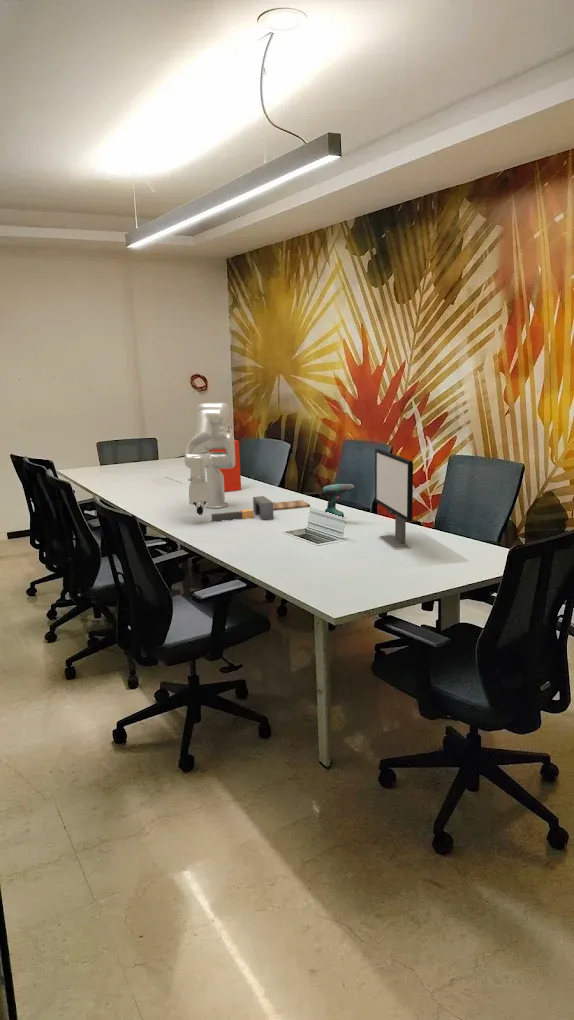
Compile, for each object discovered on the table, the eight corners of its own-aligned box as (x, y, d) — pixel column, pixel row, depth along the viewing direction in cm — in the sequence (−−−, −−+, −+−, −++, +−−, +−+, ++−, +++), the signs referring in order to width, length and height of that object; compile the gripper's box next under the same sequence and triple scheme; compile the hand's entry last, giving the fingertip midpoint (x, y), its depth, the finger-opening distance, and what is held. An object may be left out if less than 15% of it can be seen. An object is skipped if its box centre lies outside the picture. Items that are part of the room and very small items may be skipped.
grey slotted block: (262, 520, 342) (261, 503, 340) (253, 513, 359) (252, 497, 357) (273, 519, 344) (272, 502, 342) (264, 511, 361) (263, 496, 359)
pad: (266, 511, 362) (266, 509, 362) (259, 506, 375) (259, 504, 375) (310, 506, 370) (310, 504, 370) (302, 502, 383) (302, 500, 383)
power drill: (352, 524, 328) (352, 485, 324) (321, 522, 334) (320, 484, 329) (355, 521, 335) (355, 482, 330) (325, 519, 340) (324, 481, 336)
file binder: (212, 490, 424) (209, 441, 416) (237, 488, 430) (235, 439, 422) (215, 493, 416) (212, 443, 409) (241, 490, 422) (239, 441, 415)
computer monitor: (370, 532, 313) (370, 449, 304) (387, 530, 315) (387, 448, 306) (402, 556, 274) (403, 462, 265) (421, 554, 276) (423, 460, 267)
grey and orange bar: (213, 522, 341) (212, 514, 340) (211, 520, 345) (210, 513, 345) (255, 517, 348) (255, 510, 347) (253, 516, 352) (253, 508, 351)
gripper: (184, 481, 331) (187, 517, 334) (214, 479, 335) (215, 514, 339) (182, 479, 338) (184, 514, 341) (211, 477, 342) (212, 511, 346)
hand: (200, 514), depth 340 cm, fingers closed
